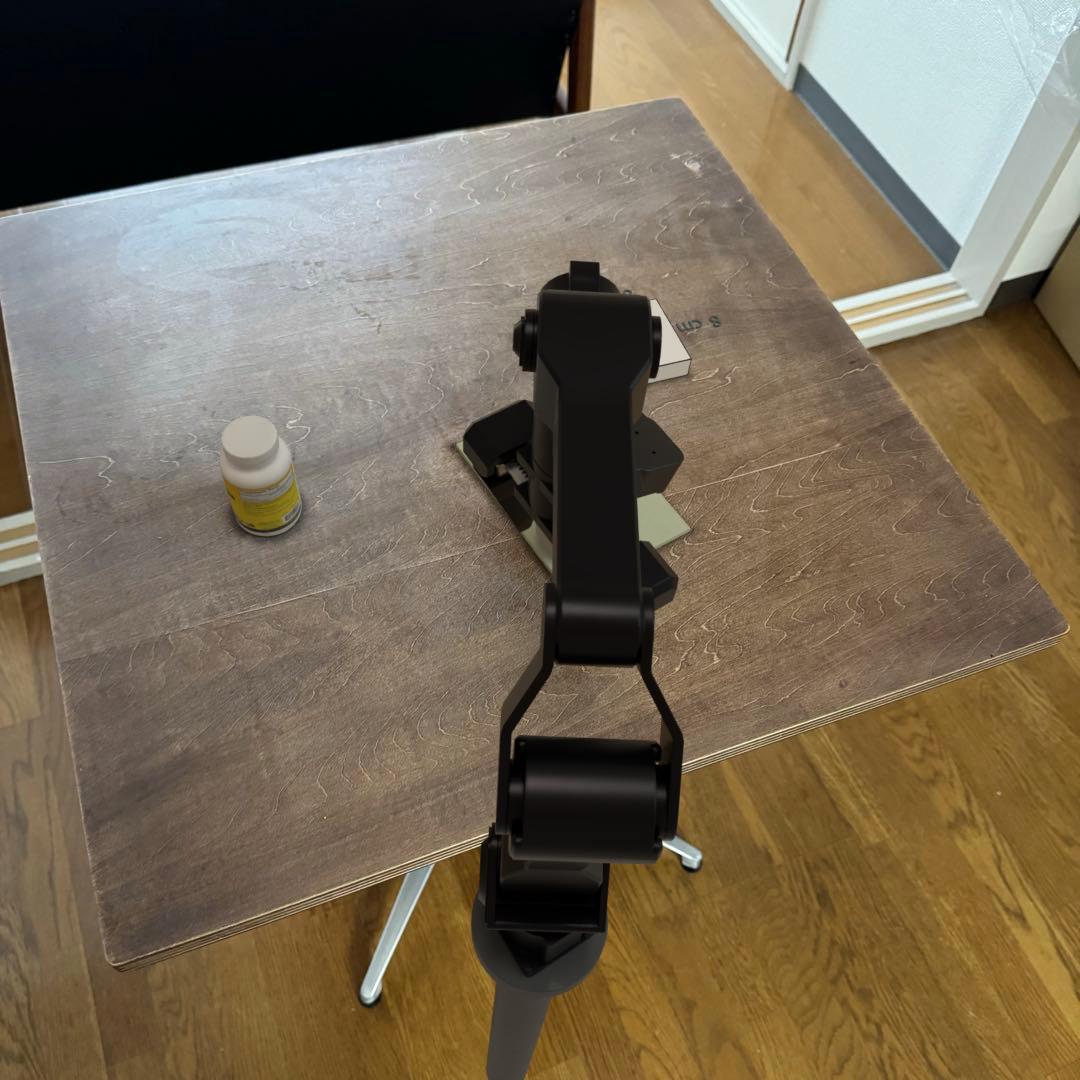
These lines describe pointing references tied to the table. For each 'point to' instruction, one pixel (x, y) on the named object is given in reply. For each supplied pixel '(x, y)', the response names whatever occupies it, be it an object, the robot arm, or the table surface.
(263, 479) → the pill bottle
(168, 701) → the table surface
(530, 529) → the placemat
